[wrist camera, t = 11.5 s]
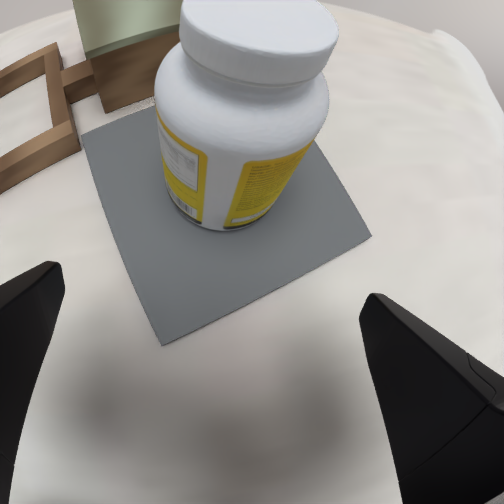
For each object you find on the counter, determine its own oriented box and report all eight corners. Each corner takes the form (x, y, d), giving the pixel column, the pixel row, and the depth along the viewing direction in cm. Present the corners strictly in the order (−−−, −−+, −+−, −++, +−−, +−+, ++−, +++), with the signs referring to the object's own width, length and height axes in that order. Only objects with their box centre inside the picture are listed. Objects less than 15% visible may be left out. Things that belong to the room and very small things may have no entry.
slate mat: (162, 345, 16) (161, 345, 15) (83, 140, 18) (81, 135, 17) (367, 239, 20) (372, 236, 19) (265, 80, 22) (267, 75, 21)
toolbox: (-45, 224, 14) (-104, 184, 8) (-42, 118, 16) (-76, 71, 9) (293, 81, 22) (323, 13, 15) (231, 10, 24) (244, -48, 17)
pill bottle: (293, 170, 19) (386, 24, 8) (242, 256, 17) (331, 124, 6) (204, 120, 19) (229, -43, 8) (143, 197, 17) (100, 23, 6)
